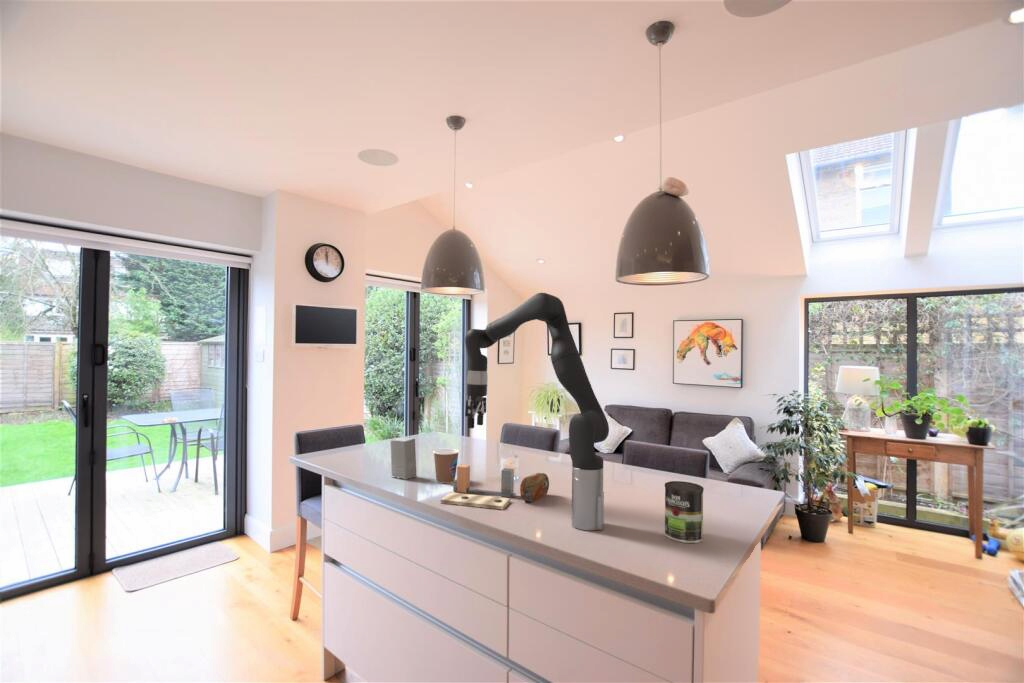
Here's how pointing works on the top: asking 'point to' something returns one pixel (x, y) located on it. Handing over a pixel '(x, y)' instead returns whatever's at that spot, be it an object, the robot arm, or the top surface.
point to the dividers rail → (506, 485)
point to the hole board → (476, 500)
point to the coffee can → (684, 511)
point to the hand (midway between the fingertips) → (475, 426)
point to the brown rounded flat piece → (534, 487)
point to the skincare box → (403, 458)
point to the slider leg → (463, 478)
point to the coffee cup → (445, 464)
